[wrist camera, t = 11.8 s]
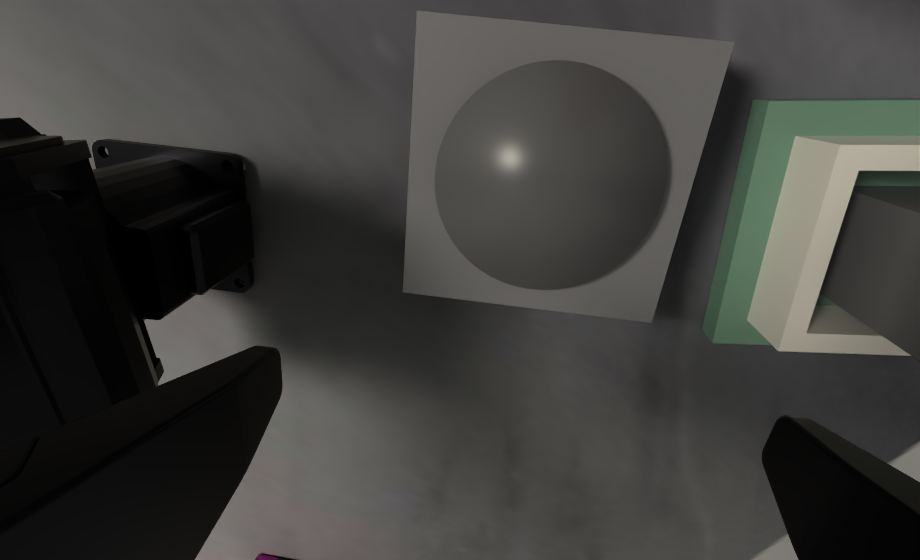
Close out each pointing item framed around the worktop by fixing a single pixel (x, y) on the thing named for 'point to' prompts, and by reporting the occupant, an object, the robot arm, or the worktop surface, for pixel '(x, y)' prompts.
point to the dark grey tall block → (880, 263)
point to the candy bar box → (267, 558)
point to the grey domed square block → (553, 161)
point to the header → (804, 219)
